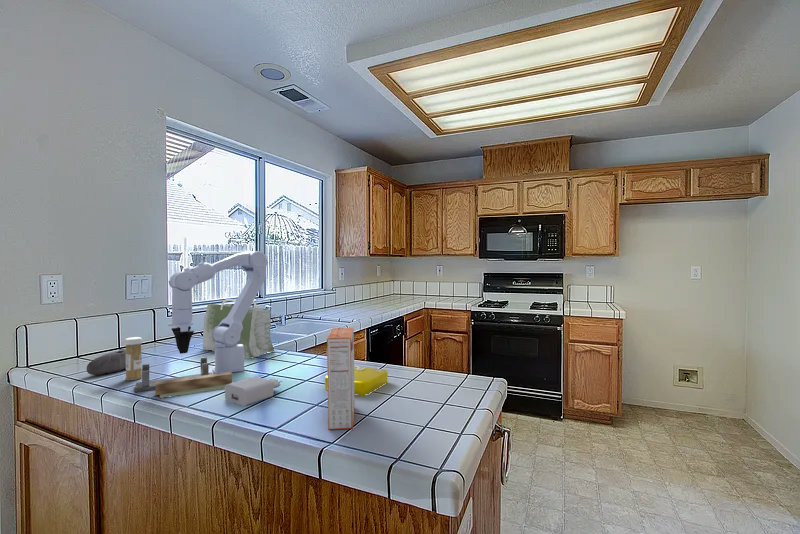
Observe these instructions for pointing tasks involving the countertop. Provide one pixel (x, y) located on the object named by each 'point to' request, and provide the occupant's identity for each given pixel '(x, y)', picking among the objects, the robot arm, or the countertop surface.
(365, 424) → the countertop surface
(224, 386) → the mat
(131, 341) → the sprinkles bottle
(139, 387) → the rail rack
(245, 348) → the grocery bag
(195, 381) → the rail
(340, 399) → the cracker box
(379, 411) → the countertop surface
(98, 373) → the perforated stone tool
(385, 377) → the element tile
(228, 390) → the charger
